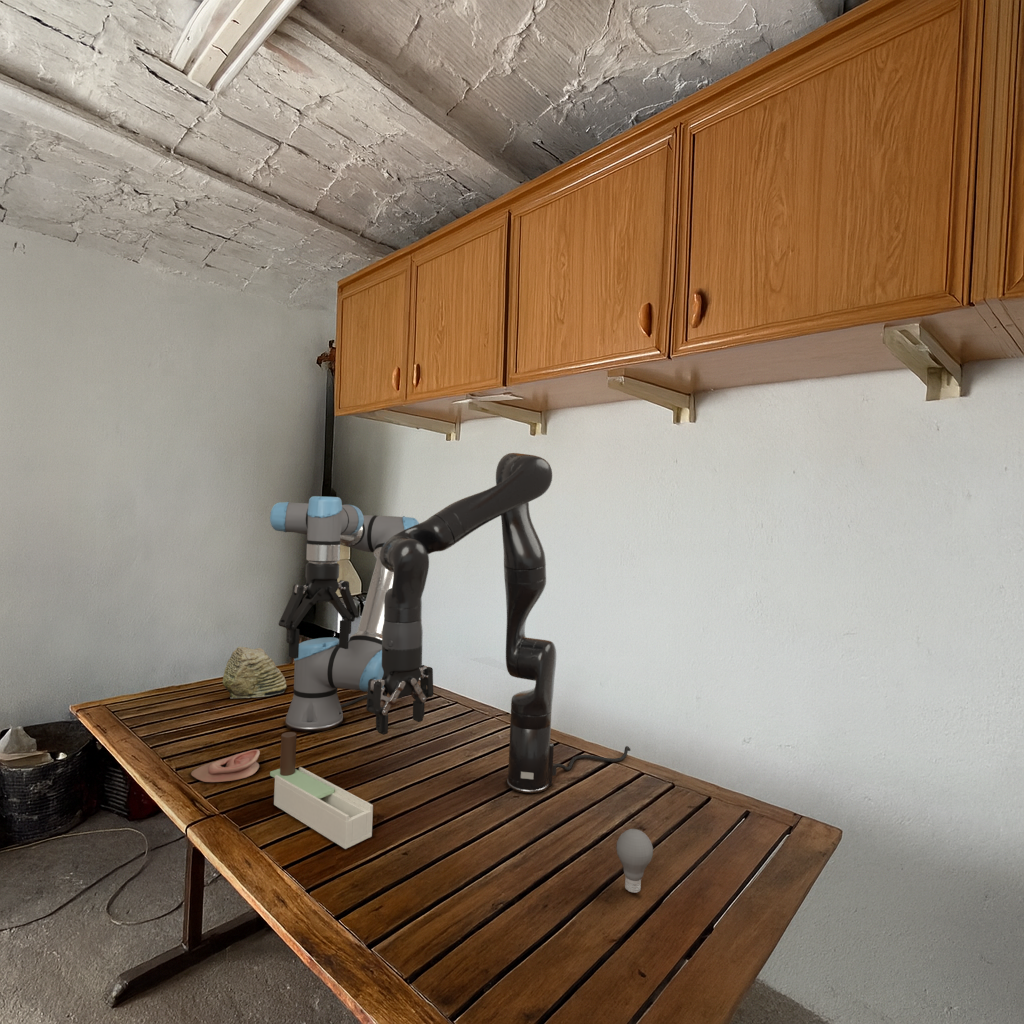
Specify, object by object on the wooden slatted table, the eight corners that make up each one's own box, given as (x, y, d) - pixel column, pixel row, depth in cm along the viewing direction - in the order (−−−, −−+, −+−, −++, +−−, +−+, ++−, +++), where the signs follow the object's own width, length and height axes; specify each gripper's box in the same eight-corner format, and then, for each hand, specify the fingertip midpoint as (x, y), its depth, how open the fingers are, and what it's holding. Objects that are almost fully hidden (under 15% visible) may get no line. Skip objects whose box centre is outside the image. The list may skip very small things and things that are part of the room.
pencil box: (273, 804, 130) (274, 775, 129) (299, 794, 134) (300, 766, 134) (345, 849, 114) (346, 816, 114) (371, 836, 119) (373, 804, 119)
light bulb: (610, 879, 108) (613, 822, 108) (644, 879, 109) (647, 822, 109) (619, 902, 102) (622, 840, 102) (655, 901, 103) (658, 840, 103)
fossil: (218, 695, 195) (220, 647, 195) (278, 685, 208) (279, 640, 207) (228, 703, 189) (230, 653, 188) (289, 692, 201) (290, 645, 201)
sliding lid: (269, 775, 132) (271, 733, 131) (288, 769, 135) (290, 728, 135) (315, 800, 122) (317, 755, 122) (334, 792, 125) (336, 748, 125)
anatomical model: (182, 760, 139) (216, 741, 150) (181, 778, 139) (216, 758, 150) (236, 768, 136) (267, 748, 147) (235, 786, 136) (266, 765, 147)
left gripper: (356, 558, 160) (353, 641, 161) (264, 563, 141) (261, 658, 141) (375, 561, 156) (372, 647, 156) (283, 566, 136) (279, 664, 136)
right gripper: (417, 633, 127) (416, 712, 128) (359, 645, 117) (357, 732, 117) (443, 639, 123) (441, 722, 123) (384, 653, 112) (382, 743, 113)
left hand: (319, 652), depth 149 cm, fingers open, 13 cm apart
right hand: (400, 726), depth 120 cm, fingers open, 8 cm apart
